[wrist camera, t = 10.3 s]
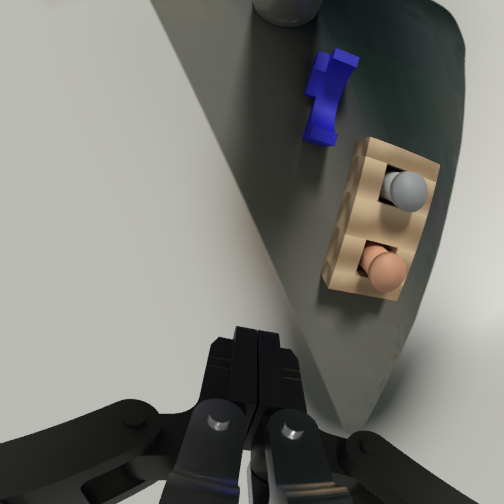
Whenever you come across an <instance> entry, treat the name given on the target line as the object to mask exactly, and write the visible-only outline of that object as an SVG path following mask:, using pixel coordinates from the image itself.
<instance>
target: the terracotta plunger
mask: <svg viewBox="0 0 504 504" xmlns="http://www.w3.org/2000/svg"><path fill="white" fill-rule="evenodd" d="M359 264H360V265H361V267H362V268H363V269H364V270H365V271H366V272H367V274H368V278H369V281H370V282H371V284H372V285H373V286H374V287H375V288H376V289H377V290H378V291H380V292H390V291H393V290H395V289H396V288H398V287H399V286H400V285H401V284H402V282H403V281H404V279H405V276H406V265H405V262H404V261H403V259H402V258H400V257H399V256H398V255H397V254H395V253H393V252H388V251H387V250H386V249H385V248H383V247H382V246H381V245H380V244H379V243H377V242H374V241H370V240H366V242H365V245H364V249H363V252H362V255H361V258H360V261H359Z"/></svg>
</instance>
